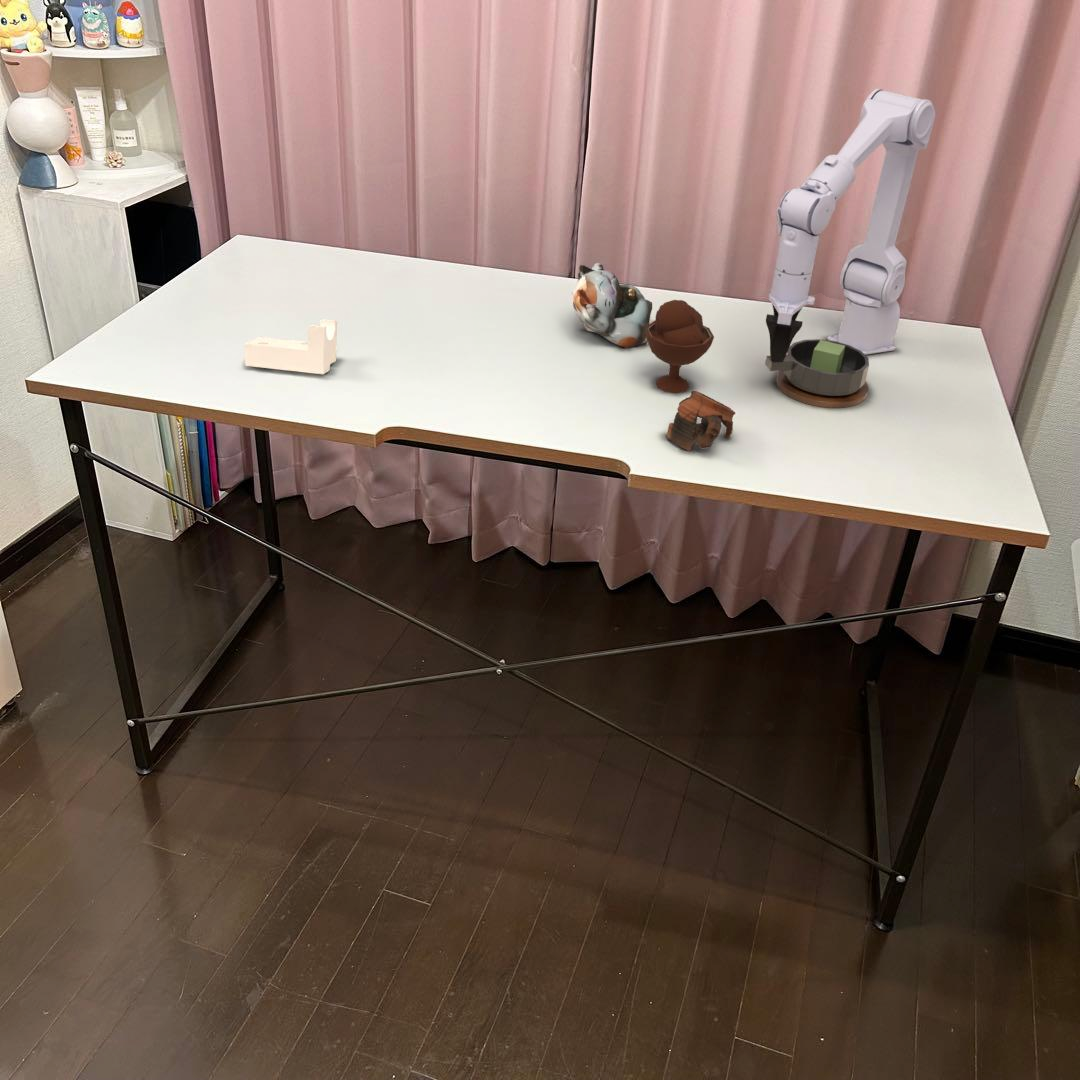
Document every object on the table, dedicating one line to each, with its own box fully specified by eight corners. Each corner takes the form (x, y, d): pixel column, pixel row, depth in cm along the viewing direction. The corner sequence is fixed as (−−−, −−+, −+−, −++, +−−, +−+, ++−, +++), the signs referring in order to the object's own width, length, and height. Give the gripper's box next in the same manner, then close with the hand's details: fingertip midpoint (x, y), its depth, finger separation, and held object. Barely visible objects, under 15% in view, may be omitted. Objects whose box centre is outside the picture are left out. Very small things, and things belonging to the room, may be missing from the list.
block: (808, 376, 188) (813, 348, 185) (814, 367, 191) (820, 339, 188) (833, 382, 186) (839, 354, 184) (839, 373, 189) (845, 345, 187)
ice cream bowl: (703, 404, 182) (716, 317, 174) (634, 394, 184) (644, 307, 175) (708, 376, 191) (721, 291, 183) (643, 367, 193) (652, 283, 184)
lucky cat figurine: (648, 353, 197) (619, 290, 188) (585, 366, 202) (554, 306, 193) (660, 299, 206) (633, 237, 197) (600, 313, 211) (570, 252, 202)
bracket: (336, 366, 189) (337, 320, 186) (323, 374, 182) (324, 327, 180) (260, 357, 190) (260, 312, 188) (245, 365, 183) (244, 318, 181)
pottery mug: (654, 429, 176) (679, 381, 174) (704, 453, 179) (729, 406, 177) (679, 449, 164) (706, 398, 163) (732, 474, 168) (759, 424, 166)
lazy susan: (832, 362, 198) (833, 357, 198) (885, 400, 187) (887, 395, 186) (759, 373, 193) (760, 368, 192) (809, 413, 182) (810, 408, 181)
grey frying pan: (843, 361, 196) (848, 337, 193) (876, 396, 185) (882, 372, 183) (750, 365, 192) (754, 341, 190) (779, 401, 182) (784, 377, 179)
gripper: (817, 289, 170) (801, 371, 177) (822, 256, 181) (806, 335, 189) (770, 282, 171) (756, 364, 178) (777, 250, 182) (764, 328, 190)
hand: (779, 349), depth 184 cm, fingers open, 7 cm apart
